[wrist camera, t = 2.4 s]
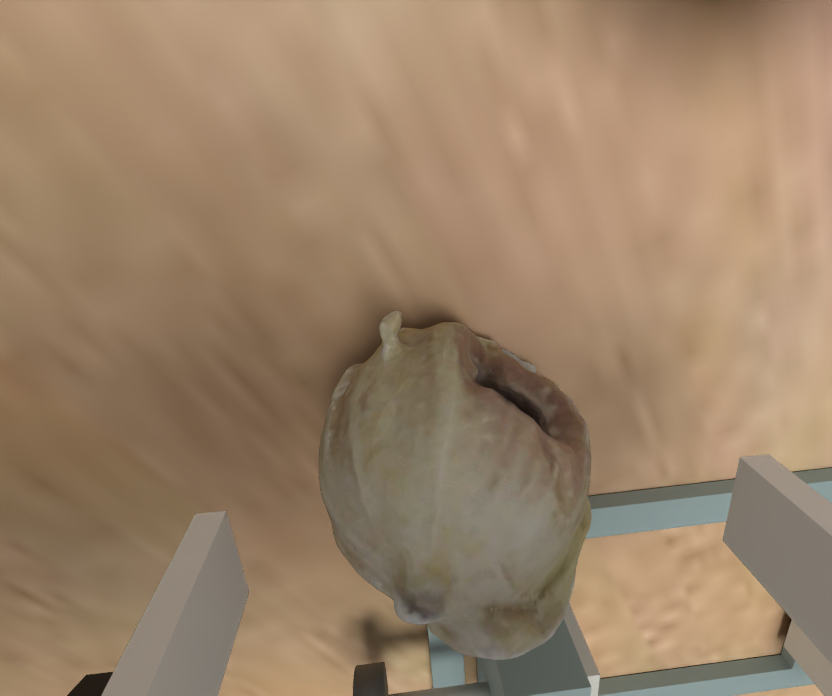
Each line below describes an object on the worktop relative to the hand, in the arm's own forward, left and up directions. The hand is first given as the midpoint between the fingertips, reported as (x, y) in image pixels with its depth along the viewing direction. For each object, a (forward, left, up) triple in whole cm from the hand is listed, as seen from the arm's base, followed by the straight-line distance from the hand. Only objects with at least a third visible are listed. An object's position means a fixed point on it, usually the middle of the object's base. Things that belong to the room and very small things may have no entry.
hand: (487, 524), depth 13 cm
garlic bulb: (0, 0, -7) cm, 7 cm away
